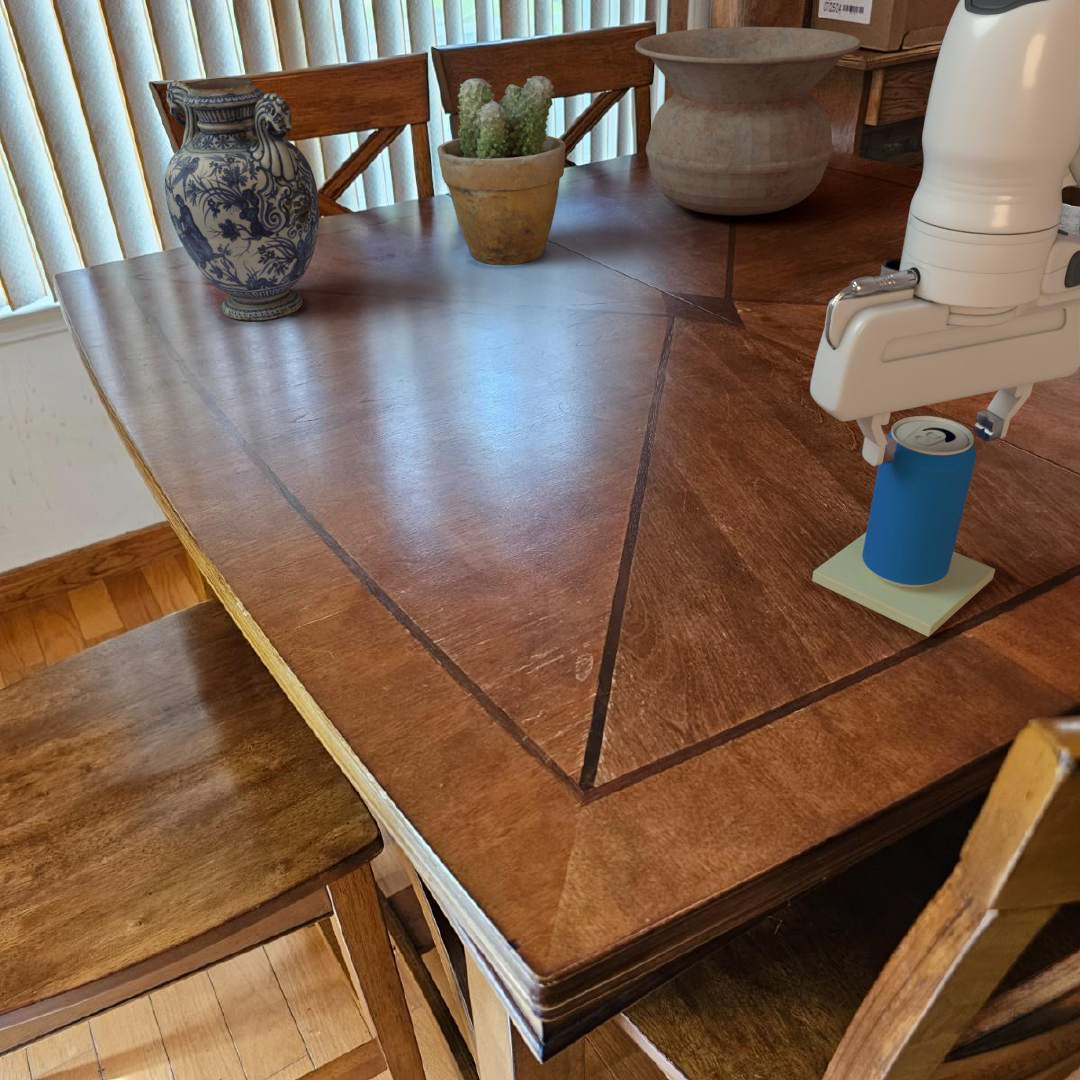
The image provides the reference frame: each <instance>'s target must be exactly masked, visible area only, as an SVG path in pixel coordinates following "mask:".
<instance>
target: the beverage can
mask: <svg viewBox="0 0 1080 1080" xmlns="http://www.w3.org/2000/svg"><path fill="white" fill-rule="evenodd" d="M890 429H891V430H890V432H889V433H888V434H887V435H888V437H889V438H892V439H893V440H895V441H896V442H898V443H897V448H896V451H895V453H894V456H895V459H894V461H893V462H891V463H886V464H882V465H877V471H876V477H875V483H874V489H873V494H872V499H871V504H870V509H869V514H868V515H869V516H868V521H867V526H866V531H865V533H866V537H865V542H864V548H863V554H862V557H863V561H864V563H865V565H866V566H867V567H868V569H869V570H871V571H872V572H873V573H874V574H875V575H876V576H878V577H879V578H880V579H882V580H883V581H885V582H887V583H890V584H893V585H896V586H900V587H908V588H916V587H923V586H926V585H929V584H933V583H936V582H938V581H940V580H942V579H943V578H944V577H945V576H946V575H947V573H948V571H949V568H950V563H951V559H952V555H953V552H955V547H956V544H957V539H958V535H959V530H960V526H961V522H962V518H963V514H964V511H965V506H966V503H967V497H968V494H969V489H970V485H971V481H972V478H973V473H974V469H975V465H976V461H977V450H976V447H975V446H974V442H975V437H974V434H973V432H972V431H971V430H970V429H969V428H968V427H966V426H964V425H963V424H961V423H959V422H957V421H954V420H951V419H948V418H944V417H939V416H931V415H915V416H909V417H905V418H901V419H899V420H897V421H896V422H895V423H893V425H892V426H891V428H890Z"/></svg>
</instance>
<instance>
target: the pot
mask: <svg viewBox="0 0 1080 1080" xmlns="http://www.w3.org/2000/svg"><path fill="white" fill-rule="evenodd" d="M861 46H862V41H861V40H860V39H859V38H858V37H856V36H854V35H851V34H847V33H843V32H839V31H832V30H826V29H815V28H804V27H786V26H785V27H784V26H783V27H782V26H731V27H730V26H729V27H710V28H696V29H687V30H686V29H685V30H677V31H676V30H675V31H670V32H663V33H659V34H653V35H650V36H647V37H644V38H641V39H639V40H637V41H636V43H635V46H634V49H635V50H636V51H637V52H638V53H639V54H641V55H643V56H645V57H649V59H650V60H651V61H652V62H653V63H654V65H655V66H656V68H657V69H658V70H659V71H660V72H661V74H662V75H663V76H664V77H665V78H666V80H667V81H668V82H669V84H670V85H671V88H672V90H673V92H674V93H673V95H672V96H671V97H669V98H668V99H667V100H665V101H664V102H663V104H661V105H660V106H659V108H658V109H657V111H656V113H655V115H654V118H653V121H652V123H651V127H650V131H649V134H648V135H649V136H648V140H647V142H646V146H645V153H646V156H647V160H648V165H649V170H650V174H651V176H652V179H653V181H654V183H655V185H656V186H657V188H658V191H659V192H660V193H661V194H663V196H664V197H665V198H666V199H667V200H669V201H670V202H671V203H674V204H676V205H678V206H680V207H682V208H685V209H687V210H690V211H693V212H699V213H703V214H710V215H716V216H717V215H719V216H756V215H765V214H770V213H775V212H779V211H783V210H785V209H788V208H791V207H793V206H795V205H798V204H799V203H801V202H802V201H804V200H805V199H806V198H807V197H808V196H810V195H811V194H813V192H814V191H815V190H816V188H817V187H818V186H819V184H820V183H821V181H822V179H823V176H824V174H825V171H826V170H827V167H828V164H829V161H830V159H831V157H832V156H833V152H834V145H833V133H832V125H831V121H830V116H829V114H828V112H827V109H826V108H825V106H824V104H823V103H822V102H821V101H820V100H819V99H818V98H816V96H814V95H813V90H814V89H815V87H816V85H817V84H818V83H819V82H821V80H822V79H823V78H824V77H825V76H826V75H827V74H828V73H829V71H831V70H832V69H833V68H834V66H836V65H837V63H838V62H839V61H840V60H841V59H842V58H843V57H845V55H849V54H852V53H853V52H856V51H858V50H859V49H860V47H861Z"/></svg>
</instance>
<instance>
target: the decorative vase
mask: <svg viewBox="0 0 1080 1080" xmlns="http://www.w3.org/2000/svg"><path fill="white" fill-rule="evenodd" d="M166 87H167V89H166V92H165V93H166V103H167V106H168V107H169V114H170V115H171V116H173V117H174V120H175V122H176V123H177V124H178V125H180V126H182V127H184V132H183V138H182V144H181V147H180V149H178V150H177V151H176V152H175V153H174V154H173V156H172V157H171V158H170V160H169V163H168V165H167V168H166V171H165V176H164V190H165V191H164V192H165V199H166V205H167V209H168V213H169V217H170V219H171V223H172V226H173V229H174V230H175V232H176V234H177V237H178V239H179V241H180V243H181V244H182V247H183V248H184V250H185V252H186V253H187V255H188V257H189V258H190V259H191V261H192V262H193V264H194V265H195V267H196V268H197V269H198V270H199V272H200V273H201V274H202V275H203V277H205V279H207V281H208V282H209V283H211V285H213V286H214V287H215V288H217V289H218V290H220V291H222V292H224V293H225V294H227V295H229V296H228V297H226V298H225V299H224V301H222V305H221V311H222V313H223V314H224V316H225V317H228V318H230V319H233V320H240V321H250V322H252V321H268V320H273V319H278V318H281V317H282V318H283V317H285V316H288V315H291V314H292V313H295V312H297V311H298V310H300V308H302V306H303V303H304V300H303V297H302V294H300V293H299V292H298V291H296V290H295V289H292V287H294V286H295V285H296V284H297V283H298V282H299V281H300V280H301V279H302V278H303V277H304V275H305V274H306V272H307V269H309V266H310V264H311V261H312V259H313V256H314V253H315V249H316V244H317V239H318V235H319V225H320V202H319V200H320V199H319V192H318V187H317V182H316V179H315V178H316V177H315V175H314V173H313V170H312V167H311V165H310V163H309V161H308V159H307V158H306V156H305V155H304V154H303V152H302V151H301V150H300V149H299V148H298V147H297V146H296V145H295V144H294V143H292V142H291V141H289V140H288V139H286V138H285V137H286V136H287V134H288V133H290V132H291V131H292V130H293V124H292V122H291V120H292V112H291V108H290V106H289V105H288V104H287V101H286V99H285V98H284V97H283V96H278V94H277V93H276V92H275V93H269V92H266V93H265V92H264V90H263V89H261V88H259V87H256V85H255V82H254V80H252V79H250V78H246V77H245V78H244V77H214V78H207V79H201V80H197V81H194V82H191V83H189V84H188V85H187V84H186V83H185V81H182V80H177V79H174V80H173V81H172V82H171V81H170V82H168V83H167V85H166ZM180 117H181V118H182V119H185V120H182V119H181V118H180Z"/></svg>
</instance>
